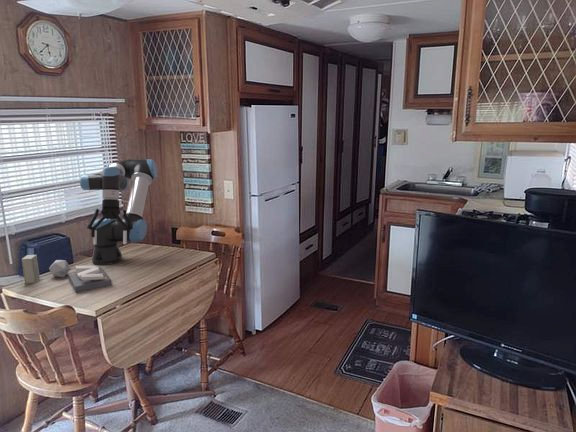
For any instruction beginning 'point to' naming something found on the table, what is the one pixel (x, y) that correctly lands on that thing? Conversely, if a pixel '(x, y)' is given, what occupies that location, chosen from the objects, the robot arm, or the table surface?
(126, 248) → the table surface
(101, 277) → the rocker front
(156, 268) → the table surface
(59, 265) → the die
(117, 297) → the table surface
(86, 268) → the rocker back
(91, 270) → the rocker middle
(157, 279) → the table surface
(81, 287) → the switch console
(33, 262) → the skincare box
